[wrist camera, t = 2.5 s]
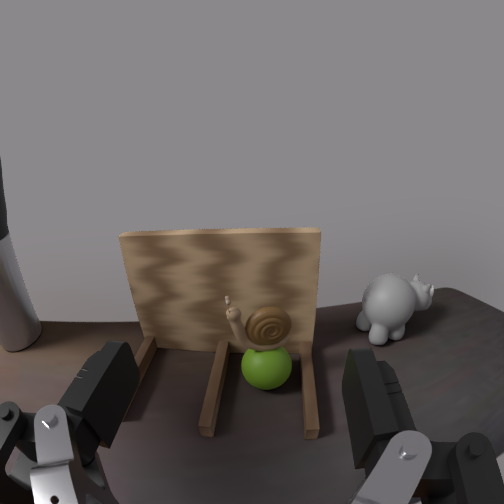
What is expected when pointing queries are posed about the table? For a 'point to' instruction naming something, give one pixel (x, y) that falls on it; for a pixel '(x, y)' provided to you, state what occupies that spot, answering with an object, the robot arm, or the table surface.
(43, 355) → the table surface
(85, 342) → the table surface
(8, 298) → the robot arm
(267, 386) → the snail figurine
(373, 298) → the chubby cartoon animal
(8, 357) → the table surface
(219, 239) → the lane rack
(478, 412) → the table surface
